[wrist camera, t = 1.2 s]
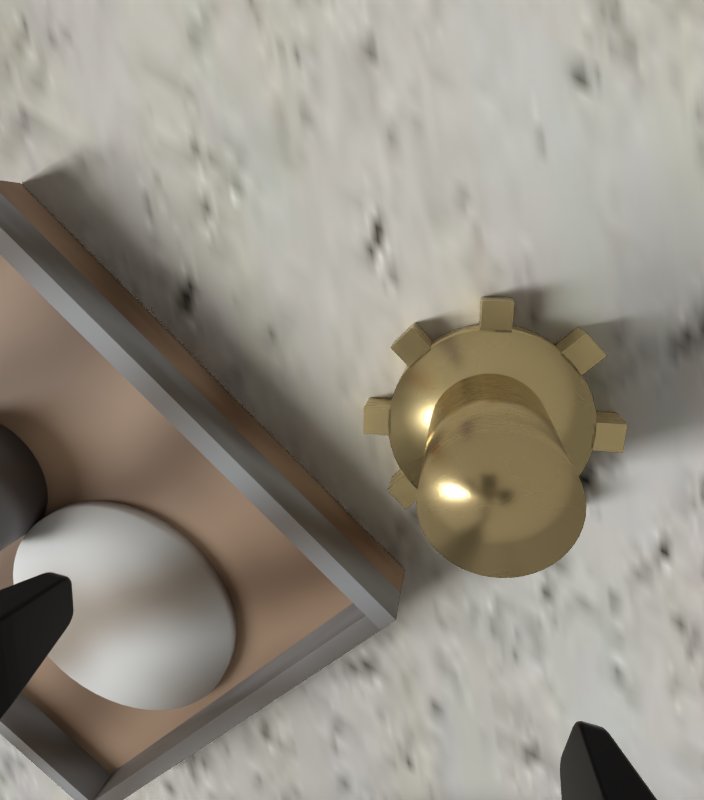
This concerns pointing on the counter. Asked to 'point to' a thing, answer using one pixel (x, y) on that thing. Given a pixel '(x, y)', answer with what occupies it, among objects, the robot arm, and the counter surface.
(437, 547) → the gear
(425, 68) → the counter surface
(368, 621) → the wooden serving tray
